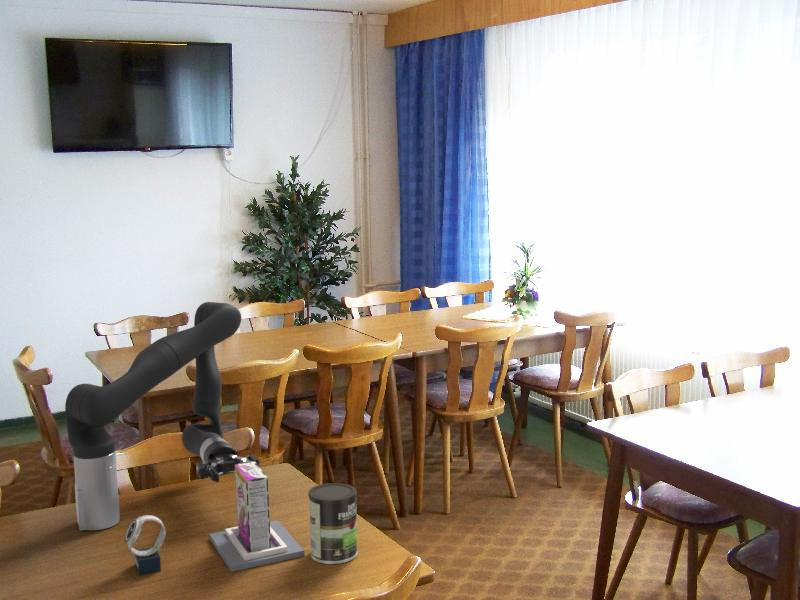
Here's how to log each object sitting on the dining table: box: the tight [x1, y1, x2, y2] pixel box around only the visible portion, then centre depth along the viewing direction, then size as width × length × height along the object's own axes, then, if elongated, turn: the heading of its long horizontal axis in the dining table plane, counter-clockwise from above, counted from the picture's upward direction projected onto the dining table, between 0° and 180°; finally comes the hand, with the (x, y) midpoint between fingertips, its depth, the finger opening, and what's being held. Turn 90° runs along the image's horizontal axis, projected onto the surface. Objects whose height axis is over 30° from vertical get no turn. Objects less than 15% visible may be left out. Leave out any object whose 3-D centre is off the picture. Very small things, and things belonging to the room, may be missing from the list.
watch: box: [124, 514, 167, 576], centre depth 174 cm, size 6×8×11 cm
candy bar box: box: [234, 462, 271, 553], centre depth 183 cm, size 11×5×16 cm, turn 24°
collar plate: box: [209, 519, 305, 573], centre depth 184 cm, size 16×18×2 cm
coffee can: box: [307, 482, 359, 565], centre depth 180 cm, size 10×10×14 cm
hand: (235, 475), depth 194 cm, fingers open, 8 cm apart
